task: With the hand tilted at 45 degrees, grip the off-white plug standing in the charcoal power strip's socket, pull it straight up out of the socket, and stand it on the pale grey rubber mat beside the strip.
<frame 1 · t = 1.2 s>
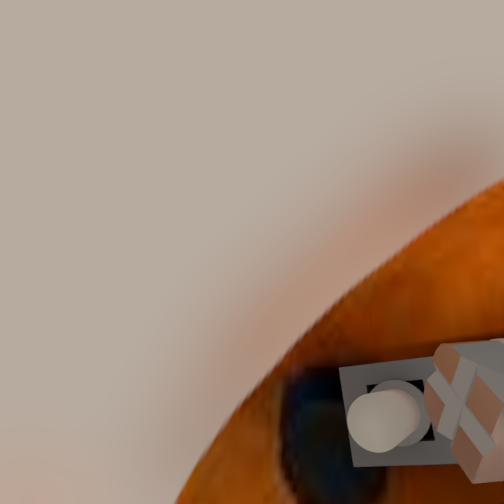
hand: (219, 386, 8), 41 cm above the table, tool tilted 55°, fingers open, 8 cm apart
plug: (403, 409, 44), resting in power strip
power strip: (447, 406, 42), on the table
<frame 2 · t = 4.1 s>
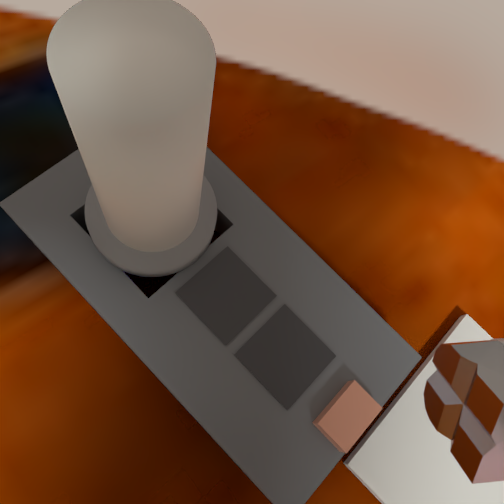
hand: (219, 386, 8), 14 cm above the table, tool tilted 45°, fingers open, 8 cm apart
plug: (156, 238, 23), resting in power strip
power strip: (210, 294, 23), on the table
mat: (482, 459, 22), on the table
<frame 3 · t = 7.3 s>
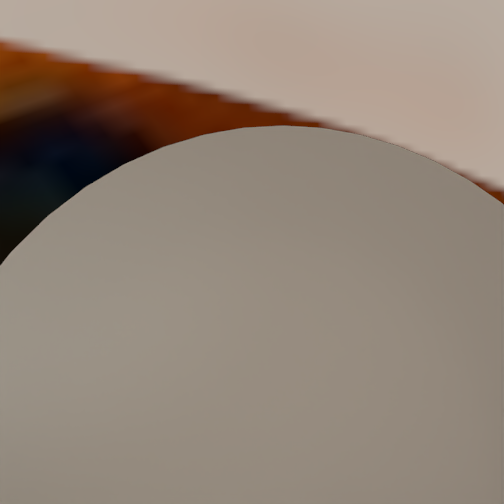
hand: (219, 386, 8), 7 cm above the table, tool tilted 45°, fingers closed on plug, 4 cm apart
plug: (200, 415, 14), resting in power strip, touching gripper
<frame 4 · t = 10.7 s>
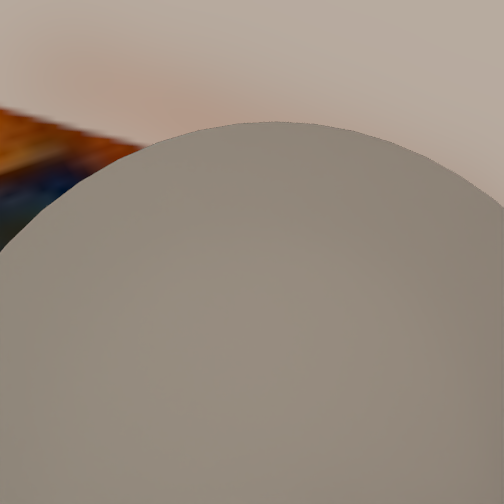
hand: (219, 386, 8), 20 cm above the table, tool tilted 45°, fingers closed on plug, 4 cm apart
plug: (198, 414, 15), point 13 cm above the table, touching gripper
when the fingers open (9 cm above the table, at t = 14.3 s): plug drops 2 cm, resting on mat.
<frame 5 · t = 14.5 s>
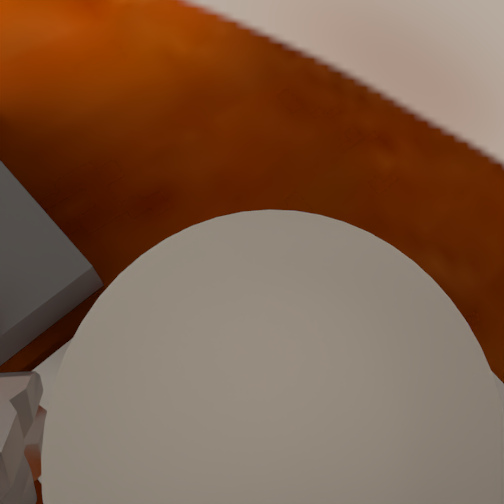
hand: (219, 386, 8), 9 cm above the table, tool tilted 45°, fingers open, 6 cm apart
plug: (196, 413, 16), point 1 cm above the table, touching mat
mat: (198, 414, 17), on the table
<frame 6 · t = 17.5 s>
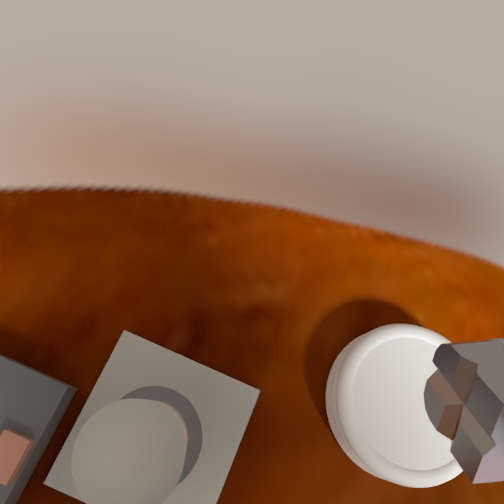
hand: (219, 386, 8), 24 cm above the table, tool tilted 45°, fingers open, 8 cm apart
coaster: (391, 402, 32), on the table
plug: (156, 434, 29), point 1 cm above the table, touching mat
mat: (158, 434, 29), on the table
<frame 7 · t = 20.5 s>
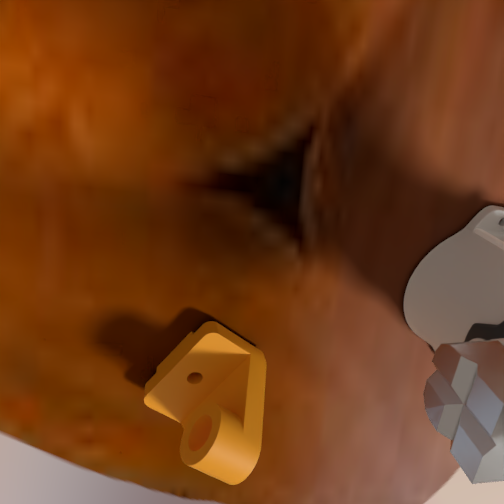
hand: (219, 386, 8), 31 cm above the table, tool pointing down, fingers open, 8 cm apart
bracket: (201, 363, 47), on the table
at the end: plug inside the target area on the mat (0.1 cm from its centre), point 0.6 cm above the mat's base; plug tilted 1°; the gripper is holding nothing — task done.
